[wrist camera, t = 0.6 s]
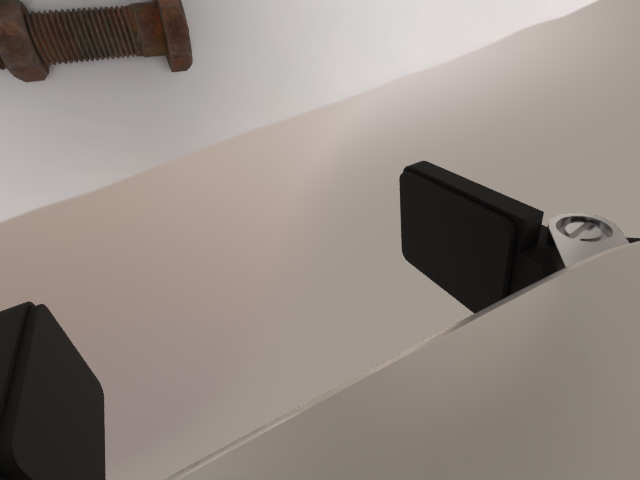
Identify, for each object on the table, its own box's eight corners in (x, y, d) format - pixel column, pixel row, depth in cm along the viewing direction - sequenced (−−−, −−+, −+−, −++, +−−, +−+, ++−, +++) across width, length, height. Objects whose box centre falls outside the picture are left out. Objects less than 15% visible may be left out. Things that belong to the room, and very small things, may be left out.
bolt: (-52, 32, 27) (175, 16, 32) (-30, 104, 27) (191, 77, 32) (-112, -26, 21) (173, -34, 26) (-83, 66, 22) (193, 41, 27)
